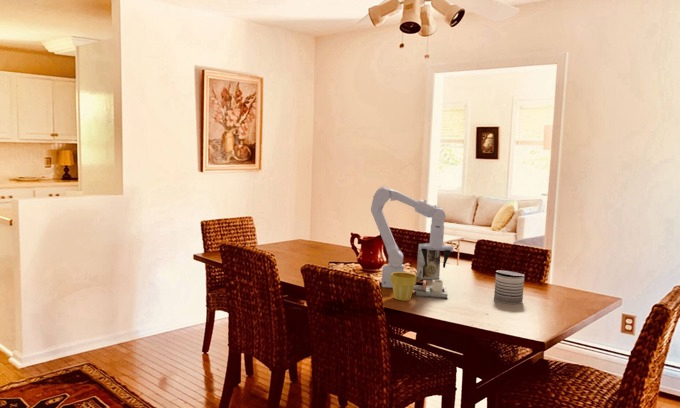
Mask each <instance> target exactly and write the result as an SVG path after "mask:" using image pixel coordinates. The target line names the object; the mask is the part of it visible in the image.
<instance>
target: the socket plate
mask: <svg viewBox="0 0 680 408" xmlns="http://www.w3.org/2000/svg"><path fill="white" fill-rule="evenodd" d="M415 291H416V292H415V293H416V295H415V296H416V298H417V297H418V298H426V299H427V298H428V299H430V298H432V299H441V300H447V299H448V294H449V293H448V290H447V287H445V286H444V287H442V292H432V285H431V286H429V285H428V286H427V285H426V291H418V290H415Z"/></svg>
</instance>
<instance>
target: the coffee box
mask: <svg viewBox="0 0 680 408" xmlns="http://www.w3.org/2000/svg"><path fill="white" fill-rule="evenodd" d="M419 244H422V245H430V242H425V243H422V242H421V243H418V245H417V246H418V247H417V260H416V261H417V263H416V276H418V277H417V278H419V277H420V278H421V279H420V278H419V279H420V280H440V270H441V268H440V267H441V251H440V250H427V267H426V266H425V260H424V256H423V254H422V250H420V249H419ZM432 249H433V248H432Z"/></svg>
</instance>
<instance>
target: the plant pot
mask: <svg viewBox="0 0 680 408" xmlns="http://www.w3.org/2000/svg"><path fill="white" fill-rule="evenodd" d="M417 278H418V277H417V274H414V273H411V272H405V271H404V272H394V273H392V274H391V283H392V286H393V288H392V292H393V299H395V300H397V301H398V300H399V301H410V300H411V298H412V295H413V291H414V290H413V288H414V285H417V280H418V279H417Z"/></svg>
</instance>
